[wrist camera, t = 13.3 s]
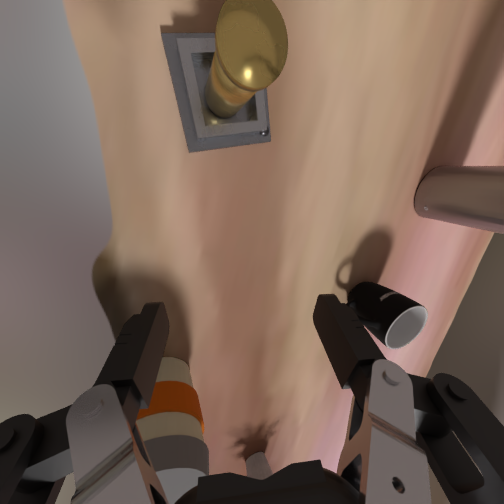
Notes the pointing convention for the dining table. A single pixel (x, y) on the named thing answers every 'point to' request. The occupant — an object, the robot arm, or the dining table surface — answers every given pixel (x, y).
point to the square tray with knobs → (194, 102)
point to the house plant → (258, 466)
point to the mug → (387, 314)
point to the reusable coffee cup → (174, 430)
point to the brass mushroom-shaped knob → (245, 54)
